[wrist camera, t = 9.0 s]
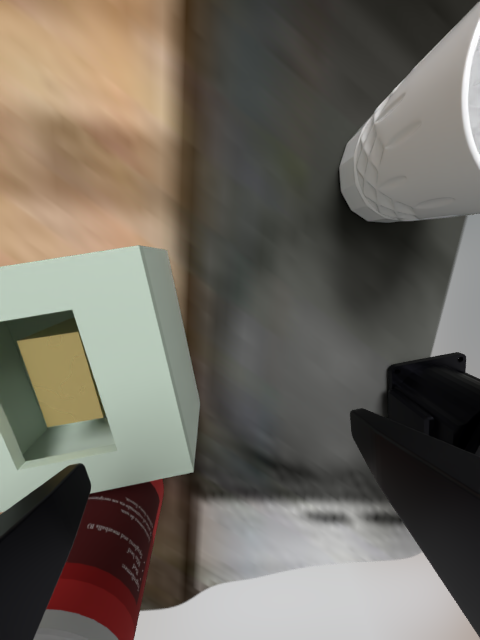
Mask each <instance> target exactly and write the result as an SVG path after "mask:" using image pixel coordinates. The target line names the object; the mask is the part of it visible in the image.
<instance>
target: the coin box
mask: <svg viewBox="0 0 480 640" xmlns="http://www.w3.org/2000/svg"><path fill="white" fill-rule="evenodd" d="M70 318H75V320H76V323H77V326H78V329H79V332H80V335H81V338H82V342H83V345H84V348H85V351H86V354H87V357H88V360H89V363H90V367H91V370H92V373H93V376H94V379H95V382H96V385H97V388H98V392H99V395H100V398H101V401H102V404H103V407H104V410H105V413H106V415H105V416H104V418H99V419H93V420H87V421H81V422H75V423H69V424H64V425H58V426H52V427H47V424H46V422H45V419H44V416H43V413H42V410H41V408H40V405H39V402H38V399H37V396H36V394H35V391H34V388H33V385H32V382H31V380H30V377H29V374H28V371H27V368H26V366H25V363H24V360H23V357H22V354H21V352H20V349H19V346H18V343H17V341H18V340H20V339H23V338H25V337H27V336H30V335H32V334H34V333H37V332H39V331H42V330H44V329H46V328H49V327H51V326H53V325H56V324H58V323H61V322H63V321H65V320H68V319H70ZM199 410H200V400H199V395H198V391H197V386H196V381H195V377H194V372H193V368H192V363H191V358H190V354H189V349H188V345H187V340H186V335H185V331H184V326H183V321H182V317H181V312H180V308H179V303H178V298H177V294H176V289H175V285H174V280H173V275H172V271H171V266H170V262H169V257H168V252H167V250H164V249H158V248H152V247H146V246H140V245H138V246H132V247H125V248H119V249H112V250H106V251H99V252H93V253H87V254H80V255H74V256H67V257H61V258H54V259H48V260H41V261H35V262H29V263H22V264H16V265H9V266H3V267H0V512H4V511H6V510H7V509H9V508H10V507H12V506H13V505H14V504H16V503H17V502H19V501H20V500H21V499H23V498H24V497H25V496H27V495H28V494H30V493H31V492H32V491H34V490H35V489H36V488H38V487H39V486H41V485H42V484H43V483H45V482H46V481H48V480H49V479H50V478H52V477H53V476H54V475H56V474H57V473H59V472H60V471H61V470H63V469H64V468H65V467H67V466H69V465H72V464H78V463H82V464H84V466H85V468H86V471H87V473H88V476H89V479H90V482H91V491H90V494H91V493H95V492H100V491H105V490H110V489H115V488H120V487H125V486H129V485H134V484H139V483H144V482H149V481H154V480H158V479H163V478H168V477H173V476H178V475H183V474H187V473H192V472H194V462H195V452H196V441H197V431H198V420H199Z"/></svg>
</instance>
